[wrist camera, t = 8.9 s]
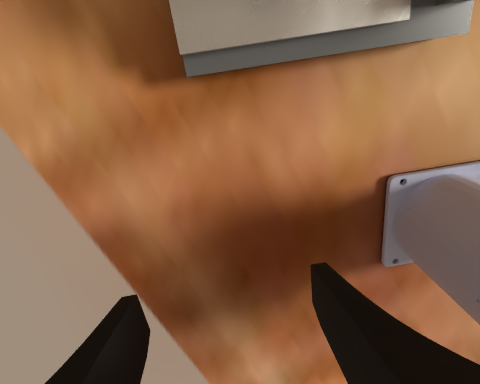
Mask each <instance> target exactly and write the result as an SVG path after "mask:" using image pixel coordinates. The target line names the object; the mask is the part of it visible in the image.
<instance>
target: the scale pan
mask: <svg viewBox="0 0 480 384" xmlns="http://www.w3.org/2000/svg"><path fill="white" fill-rule="evenodd" d="M169 4H170V9H171V14H172V18H173V23H174V28H175V33H176V38H177V43H178V48H179V53H180V55H182V56H184V55H190V54H197V53H203V52H210V51H216V50H223V49H229V48H236V47H242V46H249V45H255V44H262V43H268V42H275V41H281V40H288V39H294V38H301V37H307V36H314V35H320V34H327V33H333V32H340V31H346V30H353V29H359V28H366V27H372V26H379V25H385V24H392V23H398V22H401V21H405V20H409V19H410V10H411V0H169Z"/></svg>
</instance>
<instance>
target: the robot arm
mask: <svg viewBox="0 0 480 384" xmlns="http://www.w3.org/2000/svg"><path fill="white" fill-rule="evenodd" d="M402 179H404V180H403V182H402V183H400V181H401V180H402ZM394 259H395V260H394ZM393 260H394V261H393ZM381 262H382V263H383V265H384V266H386V267H391V266H397V265H402V264H408V263H416V264H417V265H418V266H419V267H420V268H421V269H422V270H423V271H424V272H425V273H426V274H427V275H428V276H429V277H430V278H431V279H432V280H433V281H434V282H435V283H436V284H438V285H439V286H440V287H441V288H442V289H443V290H444V291H445V292H446V293H447V294H448V295H449V296H450V297H451V298H452V299H453V300H454V301H455V302H456V303H457V304H458V305H460V306H461V307H462V308H463V309H464V310H465V311H466V312H467V313H468V314H469V315H470V316H471V317H472V318H473V319H474V320H475V321H476V322H477V323H478V324H479V325H480V161H476V162H470V163H464V164H458V165H452V166H446V167H440V168H434V169H428V170H422V171H416V172H410V173H404V174H398V175H393V176H391V177H390V178H389V179H388V181H387V189H386V203H385V217H384V231H383V244H382V258H381ZM311 283H312V302H313V305H314V308H315V311H316V314H317V317H318V320H319V323H320V326H321V328H322V330H323V332H324V334H325V336H326V339H327V341H328V343H329V345H330V347H331V349H332V351H333V353H334V355H335V358H336V360H337V362H338V364H339V366H340V368H341V370H342V372H343V374H344V376H345V379H346V381H347V383H348V384H480V365H479V364H477V363H475V362H473V361H471V360H469V359H466V358H464V357H462V356H460V355H458V354H456V353H454V352H452V351H450V350H449V349H447V348H445V347H443V346H441V345H439V344H438V343H436V342H434V341H432V340H430V339H428V338H427V337H425V336H423V335H421V334H420V333H418V332H416V331H415V330H413V329H411V328H410V327H408V326H407V325H405V324H403V323H402V322H400V321H399V320H397V319H396V318H394V317H393V316H391V315H390V314H388V313H387V312H386V311H384V310H383V309H381V308H380V307H379V306H377V305H376V304H375V303H373V302H372V301H371V300H369V299H368V298H367V297H366V296H364V295H363V294H362V293H361V292H359V291H358V290H357V289H356V288H354V287H353V286H352V285H351V284H350V283H348V282H347V281H346V280H345V279H344V278H343V277H341V276H340V275H339V274H338V273H337V272H336V271H335V270H334V269H332V268H331V267H330V266H329V265H328V264H327V263H325V262H324V263H319V264H313V265H311ZM149 336H150V328H149V326H148V323H147V320H146V318H145V315H144V312H143V310H142V307H141V304H140V302H139V299H138V296H137V295H131V296H125V297H122V298H121V299H120V300H119V301H118V302H117V303H116V305H115V306H114V307H113V308H112V309H111V311H110V312H109V313H108V314H107V315H106V317H105V318H104V319H103V320H102V321H101V323H100V324H99V325H98V326H97V327H96V328H95V330H94V331H93V332H92V333H91V334H90V336H89V337H88V338H87V339H86V340H85V342H84V343H83V344H82V345H81V346H80V347H79V348H78V349H77V350H76V351H75V352H74V353H73V355H72V356H71V357H70V358H69V359H68V360H67V361H66V362H65V363H64V364H63V365H62V367H61V368H60V369H59V370H58V371H57V372H56V373H55V374H54V375H53V376H52V377H51V378H50V379H49V380H48V381H47V382H46V383H45V384H140V382H141V378H142V374H143V370H144V366H145V362H146V358H147V352H148V345H149Z"/></svg>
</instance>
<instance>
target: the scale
mask: <svg viewBox="0 0 480 384" xmlns="http://www.w3.org/2000/svg"><path fill="white" fill-rule="evenodd" d="M473 3H474V0H411V10H410V19H409V20H405V21H401V22H398V23H392V24H385V25H379V26H372V27H366V28H359V29H353V30H346V31H340V32H333V33H327V34H320V35H314V36H307V37H301V38H294V39H288V40H281V41H275V42H268V43H262V44H255V45H249V46H242V47H236V48H229V49H223V50H216V51H210V52H203V53H197V54H190V55H184V56H183V61H184V66H185V71H186V76H187V77H191V76H197V75H204V74H210V73H216V72H223V71H229V70H236V69H242V68H248V67H255V66H261V65H268V64H274V63H281V62H287V61H293V60H300V59H306V58H313V57H319V56H326V55H332V54H338V53H345V52H351V51H358V50H364V49H371V48H377V47H383V46H390V45H396V44H403V43H409V42H416V41H422V40H428V39H435V38H441V37H448V36H454V35H461V34H467V33H469V28H470V22H471V15H472V9H473Z"/></svg>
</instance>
